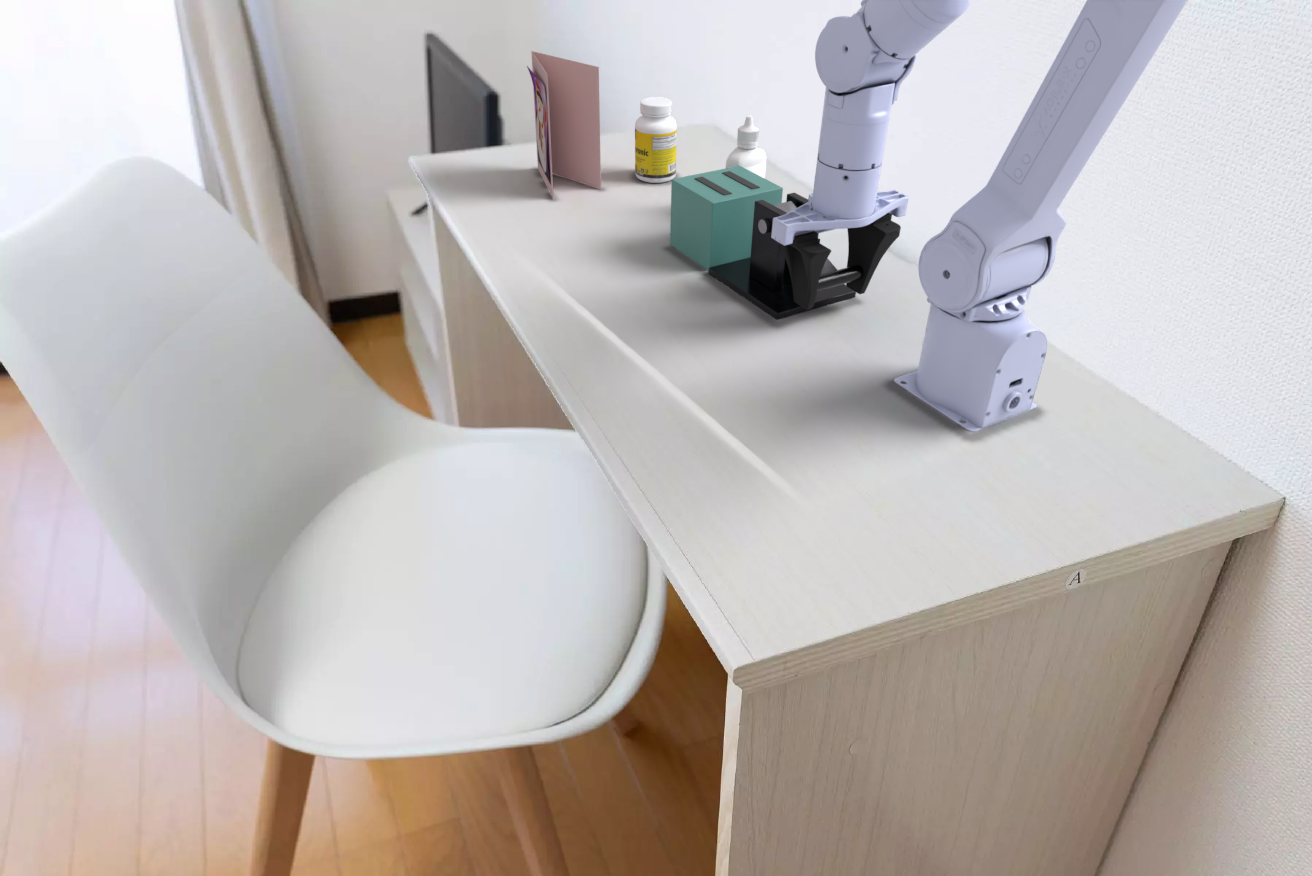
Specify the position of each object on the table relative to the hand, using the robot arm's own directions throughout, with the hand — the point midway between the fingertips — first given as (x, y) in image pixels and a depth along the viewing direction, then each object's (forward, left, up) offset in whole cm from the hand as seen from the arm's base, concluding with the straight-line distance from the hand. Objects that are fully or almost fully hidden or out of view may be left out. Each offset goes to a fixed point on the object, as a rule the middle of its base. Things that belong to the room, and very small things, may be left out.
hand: (829, 297), depth 94 cm
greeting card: (+47, +5, -3) cm, 47 cm away
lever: (+4, 0, +3) cm, 5 cm away
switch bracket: (+8, 0, -2) cm, 8 cm away
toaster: (+18, 0, -2) cm, 18 cm away
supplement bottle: (+43, -6, -3) cm, 43 cm away
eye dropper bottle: (+26, -8, -3) cm, 27 cm away
